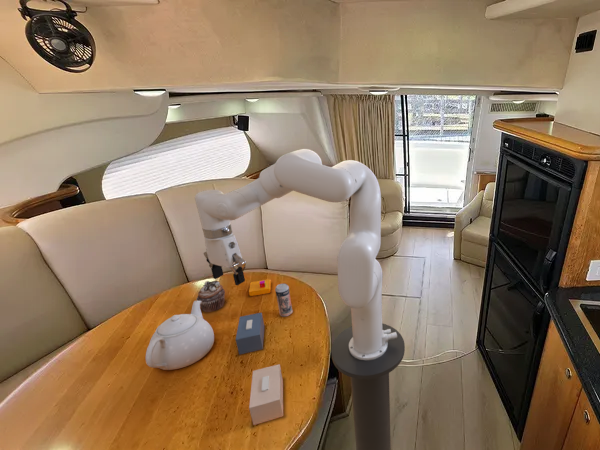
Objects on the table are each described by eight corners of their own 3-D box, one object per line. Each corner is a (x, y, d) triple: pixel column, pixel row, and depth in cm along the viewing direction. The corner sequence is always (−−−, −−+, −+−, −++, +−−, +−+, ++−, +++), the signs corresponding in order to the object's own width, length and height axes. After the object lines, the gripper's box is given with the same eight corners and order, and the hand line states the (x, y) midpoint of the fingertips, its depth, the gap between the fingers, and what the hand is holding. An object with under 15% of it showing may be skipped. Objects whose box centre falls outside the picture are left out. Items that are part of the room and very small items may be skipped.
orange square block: (249, 296, 129) (247, 287, 127) (251, 286, 136) (249, 278, 134) (270, 292, 131) (268, 284, 130) (271, 283, 138) (269, 274, 137)
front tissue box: (256, 386, 88) (252, 369, 85) (282, 379, 90) (279, 362, 88) (253, 425, 77) (248, 406, 75) (283, 416, 79) (279, 397, 77)
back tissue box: (243, 330, 110) (239, 315, 107) (264, 326, 112) (261, 311, 109) (239, 354, 99) (235, 338, 97) (262, 349, 101) (259, 333, 99)
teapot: (144, 352, 100) (130, 317, 95) (208, 325, 112) (198, 293, 107) (155, 387, 88) (140, 349, 83) (225, 352, 100) (216, 317, 95)
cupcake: (203, 300, 126) (197, 279, 123) (229, 297, 129) (224, 276, 125) (195, 315, 118) (189, 292, 114) (224, 310, 120) (218, 288, 116)
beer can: (282, 319, 115) (277, 291, 111) (277, 312, 119) (272, 285, 114) (294, 313, 118) (290, 286, 114) (290, 307, 122) (285, 281, 117)
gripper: (249, 231, 94) (258, 280, 100) (209, 223, 101) (220, 269, 107) (227, 240, 88) (239, 292, 94) (186, 231, 94) (200, 280, 100)
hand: (229, 280), depth 100 cm, fingers open, 9 cm apart
